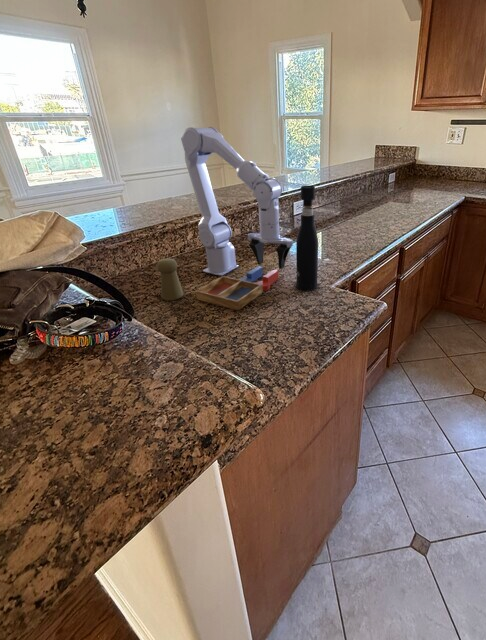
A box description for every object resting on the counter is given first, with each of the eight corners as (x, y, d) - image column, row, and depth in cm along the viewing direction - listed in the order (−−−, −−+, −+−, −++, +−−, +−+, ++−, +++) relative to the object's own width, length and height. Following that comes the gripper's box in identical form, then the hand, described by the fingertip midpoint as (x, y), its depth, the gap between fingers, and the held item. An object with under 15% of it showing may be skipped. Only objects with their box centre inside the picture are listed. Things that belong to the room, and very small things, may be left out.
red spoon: (270, 277, 115) (270, 268, 114) (282, 279, 113) (281, 270, 112) (252, 289, 106) (251, 280, 105) (264, 292, 105) (264, 283, 103)
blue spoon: (254, 273, 117) (254, 265, 116) (266, 276, 115) (265, 267, 114) (236, 285, 109) (235, 276, 107) (248, 288, 107) (247, 279, 106)
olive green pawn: (176, 301, 99) (170, 264, 94) (157, 299, 100) (149, 262, 95) (187, 291, 104) (181, 257, 99) (168, 290, 105) (162, 255, 100)
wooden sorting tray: (223, 283, 110) (222, 275, 109) (262, 292, 104) (262, 284, 103) (196, 299, 100) (195, 291, 99) (238, 310, 95) (237, 301, 93)
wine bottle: (320, 284, 110) (323, 186, 97) (311, 292, 105) (313, 189, 92) (302, 280, 113) (302, 184, 100) (292, 288, 107) (291, 187, 94)
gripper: (240, 222, 103) (244, 265, 109) (284, 228, 97) (285, 274, 103) (254, 217, 108) (256, 258, 114) (296, 223, 103) (296, 266, 109)
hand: (271, 265), depth 109 cm, fingers open, 7 cm apart
